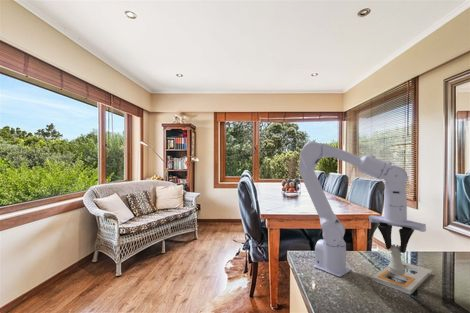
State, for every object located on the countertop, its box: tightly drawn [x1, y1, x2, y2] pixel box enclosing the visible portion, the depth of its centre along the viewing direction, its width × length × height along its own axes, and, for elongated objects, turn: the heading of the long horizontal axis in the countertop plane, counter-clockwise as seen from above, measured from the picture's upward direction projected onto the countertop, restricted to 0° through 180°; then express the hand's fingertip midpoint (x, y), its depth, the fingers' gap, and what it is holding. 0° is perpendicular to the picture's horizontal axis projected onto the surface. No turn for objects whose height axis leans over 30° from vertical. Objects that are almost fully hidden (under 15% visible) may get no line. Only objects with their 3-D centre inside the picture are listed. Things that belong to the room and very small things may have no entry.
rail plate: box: [371, 261, 432, 295], centre depth 76 cm, size 10×20×1 cm, turn 128°
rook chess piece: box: [387, 244, 406, 275], centre depth 73 cm, size 4×4×8 cm
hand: (395, 250), depth 73 cm, fingers closed on rook chess piece, 3 cm apart
